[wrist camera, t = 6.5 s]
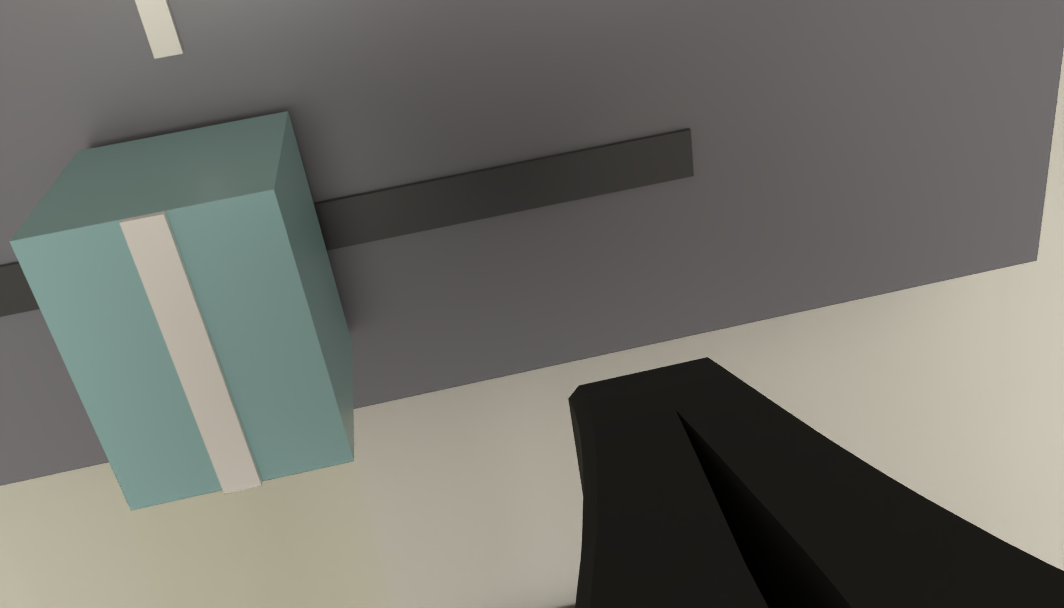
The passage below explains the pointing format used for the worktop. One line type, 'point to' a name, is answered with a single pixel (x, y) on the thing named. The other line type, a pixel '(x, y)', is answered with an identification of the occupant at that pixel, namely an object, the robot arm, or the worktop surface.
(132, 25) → the console
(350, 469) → the worktop surface
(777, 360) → the worktop surface
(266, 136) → the teal fader
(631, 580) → the robot arm
